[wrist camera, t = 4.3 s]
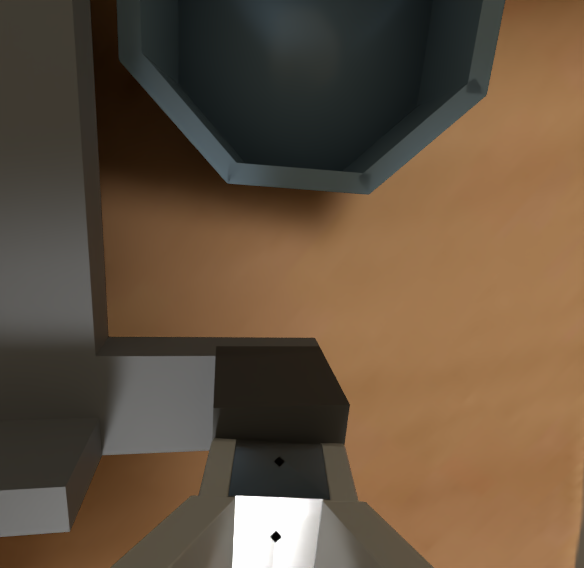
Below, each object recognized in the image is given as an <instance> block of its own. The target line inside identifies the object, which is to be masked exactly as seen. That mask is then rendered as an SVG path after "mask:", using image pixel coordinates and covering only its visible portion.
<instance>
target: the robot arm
mask: <svg viewBox="0 0 584 568" xmlns="http://www.w3.org/2000/svg"><path fill="white" fill-rule="evenodd" d="M111 568H434V567H433V566H432V565H430V564H429V563H428V562H427V561H426V560H425V559H424V558H423V557H422V556H421V555H420V554H419V553H418V552H417V551H416V550H415V549H414V548H413V547H412V546H411V545H410V544H409V543H408V542H407V541H406V540H405V539H404V538H403V537H401V536H400V535H399V534H398V533H397V532H396V531H395V530H394V529H393V528H392V527H391V526H390V525H389V524H388V523H387V522H386V521H385V520H384V519H383V518H382V517H381V516H380V515H379V514H378V513H377V512H376V511H375V510H374V509H372V508H371V507H370V506H369V505H368V504H367V503H366V502H359V501H358V497H357V493H356V489H355V485H354V481H353V477H352V472H351V468H350V464H349V460H348V456H347V452H346V448H345V446H344V445H343V444H337V443H321V444H309V443H284V442H272V441H257V440H242V439H237V440H236V439H222V438H214V439H213V441H212V442H211V446H210V450H209V454H208V458H207V463H206V467H205V471H204V475H203V479H202V483H201V487H200V492H199V496H190V497H189V498H188V499H187V500H186V501H185V502H183V503H182V504H181V505H180V506H179V507H178V508H177V509H176V510H174V511H173V512H172V513H171V514H170V515H169V516H168V517H167V518H166V519H164V520H163V521H162V522H161V523H160V524H159V525H158V526H157V527H155V528H154V529H153V530H152V531H151V532H150V533H149V534H148V535H146V536H145V537H144V538H143V539H142V540H141V541H140V542H139V543H137V544H136V545H135V546H134V547H133V548H132V549H131V550H130V551H128V552H127V553H126V554H125V555H124V556H123V557H122V558H121V559H119V560H118V561H117V562H116V563H115V564H114V565H113V566H112V567H111Z"/></svg>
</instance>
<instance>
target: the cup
mask: <svg viewBox="0 0 584 568" xmlns="http://www.w3.org/2000/svg"><path fill="white" fill-rule="evenodd" d="M504 4H505V0H117V24H118V50H119V61H120V62H121V63H122V64H123V65H124V67H125V68H126V69H127V70H128V71H129V72H130V73H131V75H132V76H133V77H134V78H135V79H136V80H137V81H138V83H139V84H140V85H141V86H142V87H143V88H144V89H145V90H146V92H147V93H148V94H149V95H150V96H151V97H152V98H153V100H154V101H155V102H156V103H157V104H158V105H159V106H160V108H161V109H162V110H163V111H164V112H165V113H166V114H167V116H168V117H169V118H170V119H171V120H172V121H173V122H174V123H175V125H176V126H177V127H178V128H179V129H180V130H181V131H182V133H183V134H184V135H185V136H186V137H187V138H188V139H189V141H190V142H191V143H192V144H193V145H194V146H195V147H196V149H197V150H198V151H199V152H200V153H201V154H202V155H203V156H204V158H205V159H206V160H207V161H208V162H209V163H210V164H211V166H212V167H213V168H214V169H215V170H216V171H217V172H218V174H219V175H220V176H221V177H222V178H223V179H224V180H225V181H226V183H228V184H241V185H253V186H266V187H279V188H292V189H304V190H317V191H330V192H343V193H355V194H368V195H369V194H370V193H371V192H373V191H374V190H375V189H376V188H377V187H378V186H380V185H381V184H382V183H383V182H384V181H386V180H387V179H388V178H389V177H390V176H391V175H393V174H394V173H395V172H396V171H397V170H399V169H400V168H401V167H402V166H403V165H404V164H406V163H407V162H408V161H409V160H410V159H412V158H413V157H414V156H415V155H416V154H418V153H419V152H420V151H421V150H422V149H423V148H425V147H426V146H427V145H428V144H429V143H431V142H432V141H433V140H434V139H435V138H436V137H438V136H439V135H440V134H441V133H442V132H444V131H445V130H446V129H447V128H448V127H449V126H451V125H452V124H453V123H454V122H455V121H457V120H458V119H459V118H460V117H461V116H463V115H464V114H465V113H466V112H467V111H468V110H470V109H471V108H472V107H473V106H474V105H476V104H477V103H478V102H479V101H480V100H481V99H483V98H484V97H485V96H486V95H487V91H488V86H489V80H490V75H491V70H492V65H493V60H494V55H495V50H496V45H497V40H498V35H499V30H500V24H501V19H502V14H503V9H504Z"/></svg>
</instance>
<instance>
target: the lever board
mask: <svg viewBox="0 0 584 568" xmlns="http://www.w3.org/2000/svg"><path fill="white" fill-rule="evenodd" d="M349 406H350V404H349V402H348V400H347V398H346V396H345V395H344V393H343V391H342V389H341V387H340V385H339V383H338V381H337V379H336V377H335V375H334V373H333V372H332V370H331V368H330V366H329V364H328V362H327V360H326V358H325V356H324V354H323V352H322V350H321V349H320V347H319V345H318V343H317V341H316V339H315V338H232V337H108V319H107V301H106V283H105V264H104V246H103V228H102V210H101V192H100V173H99V155H98V137H97V119H96V101H95V82H94V64H93V46H92V28H91V10H90V0H0V537H7V536H20V535H33V534H46V533H59V532H70V530H71V528H72V525H73V523H74V521H75V518H76V516H77V514H78V511H79V509H80V506H81V504H82V502H83V499H84V497H85V494H86V492H87V490H88V487H89V485H90V483H91V480H92V478H93V475H94V473H95V471H96V468H97V466H98V464H99V461H100V459H101V456H102V455H119V454H141V453H163V452H185V451H208V450H210V446H211V442H212V441H213V439H214V438H222V439H236V440H237V439H242V440H257V441H272V442H284V443H309V444H321V443H337V444H343V445H344V443H345V436H346V429H347V421H348V414H349Z"/></svg>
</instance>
